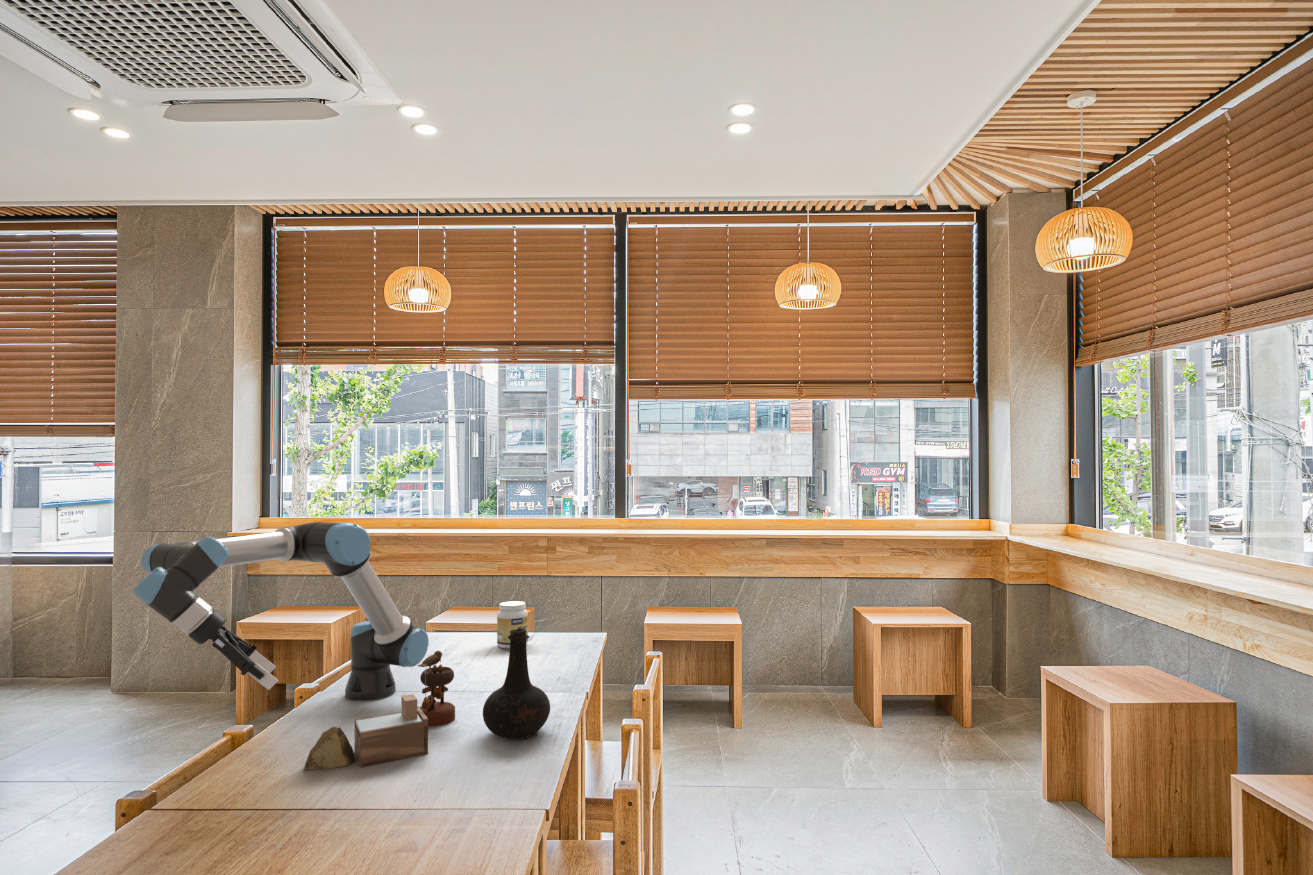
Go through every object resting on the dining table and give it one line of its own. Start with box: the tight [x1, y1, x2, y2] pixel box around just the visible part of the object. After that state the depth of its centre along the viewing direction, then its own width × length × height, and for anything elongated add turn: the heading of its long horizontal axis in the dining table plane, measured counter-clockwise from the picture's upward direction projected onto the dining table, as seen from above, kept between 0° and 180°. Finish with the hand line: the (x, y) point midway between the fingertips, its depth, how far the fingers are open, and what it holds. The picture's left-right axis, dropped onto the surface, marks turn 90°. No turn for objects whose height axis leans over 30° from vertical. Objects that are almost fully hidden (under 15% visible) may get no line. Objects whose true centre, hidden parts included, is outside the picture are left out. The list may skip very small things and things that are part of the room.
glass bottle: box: [482, 629, 551, 740], centre depth 199 cm, size 18×18×28 cm
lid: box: [356, 693, 422, 733], centre depth 186 cm, size 9×15×6 cm, turn 120°
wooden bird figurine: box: [417, 650, 456, 727], centre depth 211 cm, size 15×11×20 cm
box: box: [353, 705, 429, 768], centre depth 186 cm, size 11×16×9 cm
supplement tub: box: [496, 600, 529, 650], centre depth 294 cm, size 12×12×17 cm
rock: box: [303, 726, 357, 770], centre depth 179 cm, size 11×9×10 cm
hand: (272, 677), depth 176 cm, fingers open, 13 cm apart
